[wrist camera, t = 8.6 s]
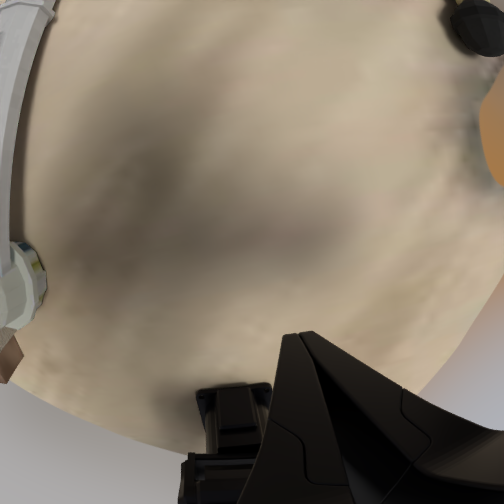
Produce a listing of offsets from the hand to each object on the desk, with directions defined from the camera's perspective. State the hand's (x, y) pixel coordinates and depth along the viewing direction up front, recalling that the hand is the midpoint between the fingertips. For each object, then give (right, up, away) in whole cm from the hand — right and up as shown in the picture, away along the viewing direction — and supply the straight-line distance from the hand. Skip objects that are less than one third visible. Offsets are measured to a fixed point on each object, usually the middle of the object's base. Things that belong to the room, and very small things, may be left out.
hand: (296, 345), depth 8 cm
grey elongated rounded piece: (-17, +10, +7) cm, 21 cm away
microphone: (+16, +28, +5) cm, 33 cm away
